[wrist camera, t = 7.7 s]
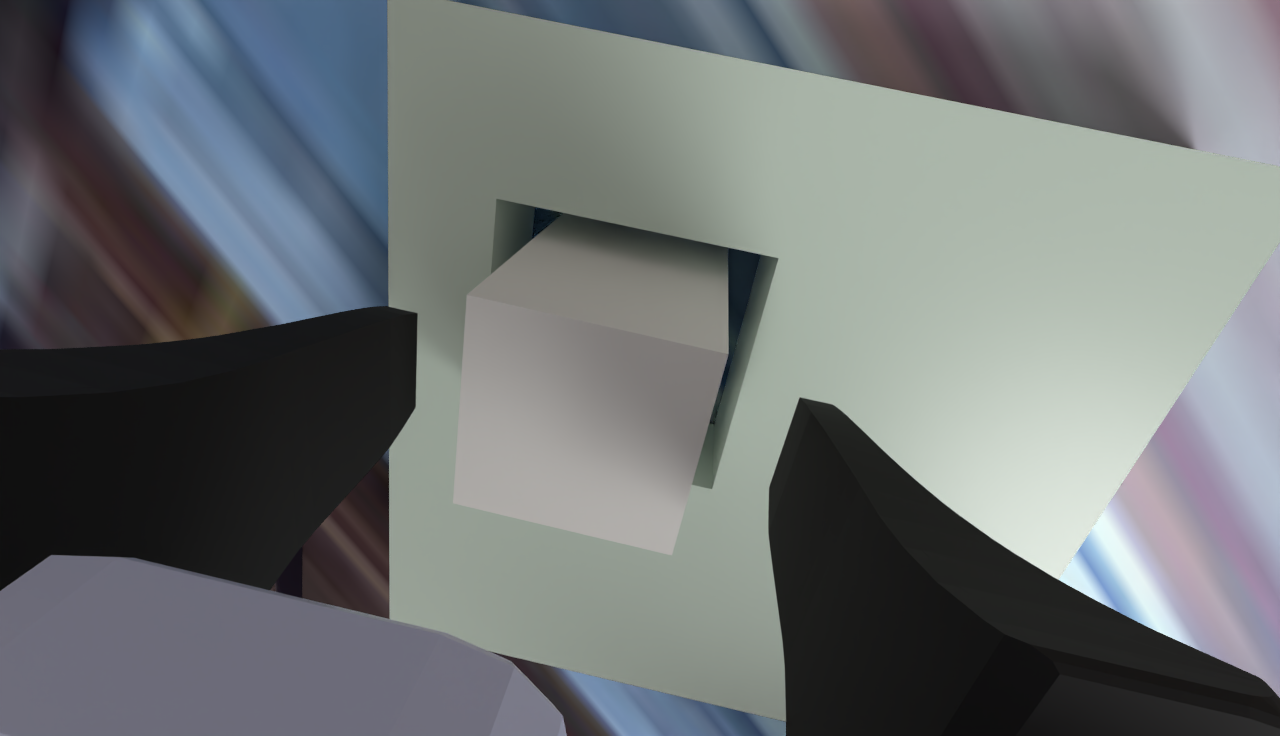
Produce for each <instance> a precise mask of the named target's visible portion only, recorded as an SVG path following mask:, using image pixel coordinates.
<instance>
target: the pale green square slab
mask: <svg viewBox="0 0 1280 736" xmlns="http://www.w3.org/2000/svg"><path fill="white" fill-rule="evenodd" d="M387 32H388V297H389V307H392V308H397V309H401V310H406V311H410V312H415V313H418V321H417V369H416V408H415V409H414V411H413V413H412V414H411V416H410V417H409V419H408V421H407V422H406V424H405V426H404V427H403V429H402V430H401V432H400V433H399V435H398V436H397V438H396V439H395V441H394V442H393V444H392V445H391V446H390V448H389V563H390V619H391V620H395V621H399V622H403V623H407V624H411V625H416V626H420V627H424V628H428V629H432V630H436V631H441V632H445V633H448V634H450V635H452V636H455V637H457V638H459V639H462V640H464V641H466V642H468V643H471V644H473V645H475V646H478V647H480V648H482V649H484V650H487V651H491V652H495V653H499V654H503V655H507V656H512V657H516V658H520V659H524V660H528V661H533V662H537V663H541V664H545V665H549V666H554V667H558V668H562V669H566V670H570V671H575V672H579V673H583V674H587V675H591V676H596V677H600V678H604V679H608V680H612V681H617V682H621V683H625V684H629V685H633V686H638V687H642V688H646V689H650V690H654V691H659V692H663V693H667V694H671V695H675V696H680V697H684V698H688V699H692V700H696V701H701V702H705V703H709V704H713V705H717V706H722V707H726V708H730V709H734V710H738V711H743V712H747V713H751V714H755V715H759V716H764V717H768V718H772V719H776V720H780V721H785V722H786V699H785V664H784V653H783V641H782V634H781V626H780V619H779V612H778V604H777V597H776V589H775V582H774V575H773V567H772V559H771V551H770V543H769V535H768V509H769V486H770V483H771V480H772V477H773V474H774V472H775V469H776V466H777V463H778V460H779V457H780V454H781V451H782V448H783V445H784V442H785V439H786V436H787V433H788V430H789V427H790V424H791V421H792V418H793V415H794V412H795V409H796V406H797V403H798V400H799V398H800V397H801V398H805V399H810V400H815V401H819V402H824V403H828V404H833V405H834V406H836V407H837V408H839V409H840V410H841V411H842V412H843V413H844V414H846V415H847V416H848V417H849V418H850V419H851V420H852V421H853V422H854V423H855V424H856V425H857V426H858V427H859V428H861V429H862V430H863V431H864V432H865V433H866V434H867V435H868V436H869V437H870V438H871V439H872V440H873V441H874V442H875V443H876V444H877V445H878V446H879V447H880V448H881V449H882V450H883V451H884V452H885V453H887V454H888V455H889V456H890V457H891V458H892V459H893V460H894V461H895V462H896V463H897V464H898V465H899V466H901V467H902V468H903V469H904V470H905V471H906V472H907V473H908V474H909V475H911V476H912V477H913V478H914V479H915V480H916V481H918V482H919V483H920V484H921V485H922V486H923V487H925V488H926V489H927V490H928V491H929V492H931V493H932V494H933V495H934V496H935V497H937V498H938V499H939V500H940V501H941V502H943V503H944V504H945V505H947V506H948V507H949V508H950V509H952V510H953V511H954V512H956V513H957V514H958V515H960V516H961V517H962V518H964V519H965V520H967V521H968V522H969V523H971V524H972V525H974V526H975V527H976V528H978V529H979V530H981V531H982V532H983V533H985V534H986V535H988V536H989V537H990V538H992V539H993V540H995V541H996V542H998V543H999V544H1001V545H1002V546H1004V547H1005V548H1007V549H1009V550H1010V551H1012V552H1013V553H1015V554H1016V555H1018V556H1020V557H1021V558H1023V559H1025V560H1026V561H1028V562H1029V563H1031V564H1033V565H1034V566H1036V567H1038V568H1039V569H1041V570H1043V571H1044V572H1046V573H1048V574H1049V575H1051V576H1053V577H1054V578H1056V579H1058V580H1059V578H1060V577H1061V575H1062V574H1063V572H1064V571H1065V569H1066V568H1067V566H1068V565H1069V563H1070V562H1071V560H1072V559H1073V557H1074V555H1075V554H1076V552H1077V551H1078V549H1079V548H1080V546H1081V545H1082V543H1083V542H1084V540H1085V539H1086V537H1087V536H1088V534H1089V533H1090V531H1091V530H1092V528H1093V526H1094V525H1095V523H1096V522H1097V520H1098V519H1099V517H1100V516H1101V514H1102V513H1103V511H1104V510H1105V508H1106V507H1107V505H1108V504H1109V502H1110V500H1111V499H1112V497H1113V496H1114V494H1115V493H1116V491H1117V490H1118V488H1119V487H1120V485H1121V484H1122V482H1123V481H1124V479H1125V478H1126V476H1127V475H1128V473H1129V471H1130V470H1131V468H1132V467H1133V465H1134V464H1135V462H1136V461H1137V459H1138V458H1139V456H1140V455H1141V453H1142V452H1143V450H1144V449H1145V447H1146V446H1147V444H1148V442H1149V441H1150V439H1151V438H1152V436H1153V435H1154V433H1155V432H1156V430H1157V429H1158V427H1159V426H1160V424H1161V423H1162V421H1163V420H1164V418H1165V417H1166V415H1167V413H1168V412H1169V410H1170V409H1171V407H1172V406H1173V404H1174V403H1175V401H1176V400H1177V398H1178V397H1179V395H1180V394H1181V392H1182V391H1183V389H1184V388H1185V386H1186V384H1187V383H1188V381H1189V380H1190V378H1191V377H1192V375H1193V374H1194V372H1195V371H1196V369H1197V368H1198V366H1199V365H1200V363H1201V362H1202V360H1203V358H1204V357H1205V355H1206V354H1207V352H1208V351H1209V349H1210V348H1211V346H1212V345H1213V343H1214V342H1215V340H1216V339H1217V337H1218V336H1219V334H1220V333H1221V331H1222V329H1223V328H1224V326H1225V325H1226V323H1227V322H1228V320H1229V319H1230V317H1231V316H1232V314H1233V313H1234V311H1235V310H1236V308H1237V307H1238V305H1239V304H1240V302H1241V300H1242V299H1243V297H1244V296H1245V294H1246V293H1247V291H1248V290H1249V288H1250V287H1251V285H1252V284H1253V282H1254V281H1255V279H1256V278H1257V276H1258V275H1259V273H1260V271H1261V270H1262V268H1263V267H1264V265H1265V264H1266V262H1267V261H1268V259H1269V258H1270V256H1271V255H1272V253H1273V252H1274V250H1275V249H1276V247H1277V246H1278V244H1279V242H1280V167H1279V166H1274V165H1269V164H1264V163H1259V162H1254V161H1249V160H1244V159H1239V158H1234V157H1229V156H1224V155H1219V154H1214V153H1209V152H1204V151H1199V150H1194V149H1189V148H1184V147H1179V146H1174V145H1169V144H1164V143H1159V142H1154V141H1149V140H1144V139H1139V138H1134V137H1129V136H1124V135H1119V134H1114V133H1109V132H1104V131H1099V130H1094V129H1089V128H1084V127H1079V126H1074V125H1069V124H1064V123H1059V122H1054V121H1049V120H1044V119H1039V118H1034V117H1029V116H1024V115H1019V114H1014V113H1009V112H1004V111H999V110H994V109H989V108H984V107H979V106H974V105H969V104H964V103H959V102H954V101H949V100H944V99H939V98H934V97H929V96H924V95H919V94H914V93H909V92H904V91H899V90H894V89H889V88H884V87H879V86H874V85H869V84H864V83H859V82H854V81H849V80H844V79H839V78H834V77H829V76H824V75H819V74H814V73H809V72H804V71H799V70H794V69H789V68H784V67H779V66H774V65H769V64H764V63H759V62H754V61H749V60H744V59H739V58H734V57H729V56H724V55H719V54H714V53H709V52H704V51H699V50H694V49H689V48H684V47H679V46H674V45H669V44H664V43H659V42H654V41H649V40H644V39H639V38H634V37H629V36H624V35H619V34H614V33H609V32H604V31H599V30H594V29H589V28H584V27H579V26H574V25H569V24H564V23H559V22H554V21H549V20H544V19H539V18H534V17H529V16H524V15H519V14H514V13H509V12H504V11H499V10H494V9H489V8H484V7H479V6H474V5H469V4H464V3H458V2H453V1H448V0H387ZM535 207H538V208H543V209H548V210H553V211H557V212H562V213H567V214H571V215H576V216H581V217H586V218H590V219H595V220H600V221H605V222H609V223H614V224H619V225H624V226H628V227H633V228H638V229H643V230H647V231H652V232H657V233H662V234H666V235H671V236H676V237H680V238H685V239H690V240H695V241H699V242H704V243H709V244H714V245H718V246H723V247H728V248H733V249H737V250H742V251H747V252H752V253H756V254H761V256H760V259H759V263H758V267H757V270H756V274H755V278H754V281H753V285H752V289H751V292H750V296H749V299H748V303H747V307H746V310H745V314H744V318H743V321H742V325H741V329H740V332H739V336H738V340H737V343H736V347H735V351H734V354H733V358H732V361H731V365H730V369H729V372H728V376H727V380H726V383H725V387H724V391H723V394H722V398H721V402H720V405H719V409H718V413H717V416H716V420H715V424H713V423H709V425H708V429H707V433H706V436H705V440H704V443H703V447H702V450H701V454H700V457H699V461H698V465H697V468H696V472H695V475H694V479H693V482H692V486H691V489H690V493H689V497H688V500H687V504H686V507H685V511H684V514H683V518H682V521H681V525H680V528H679V532H678V536H677V539H676V543H675V546H674V550H673V553H672V555H668V554H663V553H659V552H655V551H651V550H647V549H642V548H638V547H634V546H630V545H626V544H621V543H617V542H613V541H609V540H605V539H600V538H596V537H592V536H588V535H584V534H580V533H575V532H571V531H567V530H563V529H559V528H554V527H550V526H546V525H542V524H538V523H533V522H529V521H525V520H521V519H517V518H512V517H508V516H504V515H500V514H496V513H491V512H487V511H483V510H479V509H475V508H470V507H466V506H462V505H458V504H454V503H453V494H454V479H455V464H456V449H457V434H458V419H459V404H460V389H461V374H462V359H463V343H464V328H465V313H466V298H467V294H468V293H469V292H471V291H472V290H473V289H474V288H475V287H476V286H478V285H479V284H480V283H481V282H482V281H484V280H485V279H486V278H487V277H488V276H490V275H491V274H492V273H493V272H494V271H495V270H497V269H498V268H499V267H500V266H501V265H503V264H504V263H505V262H506V261H507V260H508V259H510V258H511V257H512V256H513V255H514V254H516V253H517V252H518V251H519V250H520V249H521V248H523V247H524V246H525V245H526V244H527V243H529V242H530V241H531V240H532V234H533V224H534V215H535Z"/></svg>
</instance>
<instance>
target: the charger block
mask: <svg viewBox="0 0 1280 736" xmlns="http://www.w3.org/2000/svg"><path fill="white" fill-rule="evenodd" d="M728 354H729V337H728V247H723V246H718V245H714V244H709V243H704V242H699V241H695V240H690V239H685V238H680V237H676V236H671V235H666V234H662V233H657V232H652V231H647V230H643V229H638V228H633V227H628V226H624V225H619V224H614V223H609V222H605V221H600V220H595V219H590V218H586V217H581V216H576V215H571V214H567V213H563V214H562V215H561V216H559V217H558V218H557V219H556V220H555V221H553V222H552V223H551V224H550V225H549V226H548V227H546V228H545V229H544V230H543V231H542V232H540V233H539V234H538V235H537V236H536V237H535V238H533V239H532V240H531V241H530V242H529V243H527V244H526V245H525V246H524V247H523V248H521V249H520V250H519V251H518V252H517V253H516V254H514V255H513V256H512V257H511V258H510V259H508V260H507V261H506V262H505V263H504V264H503V265H501V266H500V267H499V268H498V269H497V270H495V271H494V272H493V273H492V274H491V275H490V276H488V277H487V278H486V279H485V280H484V281H482V282H481V283H480V284H479V285H478V286H476V287H475V288H474V289H473V290H472V291H471V292H469V293H468V294H467V298H466V313H465V328H464V343H463V359H462V374H461V389H460V404H459V419H458V434H457V449H456V464H455V479H454V494H453V503H454V504H458V505H462V506H466V507H470V508H475V509H479V510H483V511H487V512H491V513H496V514H500V515H504V516H508V517H512V518H517V519H521V520H525V521H529V522H533V523H538V524H542V525H546V526H550V527H554V528H559V529H563V530H567V531H571V532H575V533H580V534H584V535H588V536H592V537H596V538H600V539H605V540H609V541H613V542H617V543H621V544H626V545H630V546H634V547H638V548H642V549H647V550H651V551H655V552H659V553H663V554H668V555H672V553H673V550H674V546H675V543H676V539H677V536H678V532H679V528H680V525H681V521H682V518H683V514H684V511H685V507H686V504H687V500H688V497H689V493H690V489H691V486H692V482H693V479H694V475H695V472H696V468H697V465H698V461H699V457H700V454H701V450H702V447H703V443H704V440H705V436H706V433H707V429H708V425H709V422H710V418H711V415H712V411H713V408H714V404H715V401H716V397H717V394H718V390H719V386H720V383H721V379H722V376H723V372H724V369H725V365H726V362H727V358H728Z"/></svg>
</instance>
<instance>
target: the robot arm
mask: <svg viewBox="0 0 1280 736" xmlns="http://www.w3.org/2000/svg"><path fill="white" fill-rule="evenodd" d="M417 321H418V313H415V312H410V311H406V310H401V309H397V308H392V307H388V306H379V307H368V308H361V309H355V310H350V311H345V312H339V313H334V314H329V315H325V316H320V317H315V318H310V319H305V320H300V321H296V322H291V323H286V324H281V325H275V326H270V327H264V328H259V329H253V330H247V331H242V332H236V333H230V334H225V335H219V336H212V337H205V338H197V339H190V340H181V341H172V342H162V343H152V344H141V345H128V346H107V347H87V348H67V349H11V350H0V736H567V735H566V730H565V725H564V720H563V716H562V715H561V713H560V712H559V711H558V710H557V709H556V707H555V706H554V705H553V704H552V703H551V702H550V701H549V700H548V699H547V698H546V697H545V696H544V695H543V693H542V692H541V691H540V690H539V689H538V688H537V687H536V686H535V685H534V684H533V683H532V682H531V681H530V680H529V679H528V678H527V677H526V676H525V675H524V674H523V673H522V672H521V671H520V670H519V669H518V668H517V667H516V666H515V665H514V664H513V663H512V662H511V661H510V660H507V659H505V658H503V657H500V656H498V655H496V654H494V653H491V652H489V651H487V650H484V649H482V648H480V647H478V646H475V645H473V644H471V643H468V642H466V641H464V640H462V639H459V638H457V637H455V636H452V635H450V634H448V633H445V632H441V631H436V630H432V629H428V628H424V627H420V626H416V625H411V624H407V623H403V622H399V621H395V620H391V619H387V618H382V617H378V616H374V615H370V614H366V613H362V612H357V611H353V610H349V609H345V608H341V607H337V606H332V605H328V604H324V603H320V602H316V601H312V600H307V599H303V598H299V597H295V596H291V595H287V594H283V593H278V592H274V591H270V589H271V588H272V586H273V585H274V584H275V582H276V581H277V579H278V578H279V577H280V575H281V574H282V573H283V571H284V570H285V568H286V567H287V566H288V564H289V563H290V561H291V560H292V559H293V557H294V556H295V555H296V553H297V552H298V551H299V549H300V548H301V547H302V546H303V545H304V543H305V542H306V541H307V540H308V538H309V537H310V536H311V535H312V534H313V532H314V531H315V530H316V529H317V528H318V527H319V526H320V525H321V523H322V522H323V521H324V520H325V519H326V518H327V517H328V516H329V515H330V514H331V512H332V511H333V510H334V509H335V508H336V507H337V506H338V505H339V504H340V503H341V501H342V500H343V499H344V498H345V497H346V496H347V495H348V494H349V493H350V492H351V490H352V489H353V488H354V487H355V486H356V485H357V484H358V483H359V482H360V481H361V479H362V478H363V477H364V476H365V475H366V474H367V473H368V472H369V470H370V469H371V468H372V467H373V466H374V465H375V464H376V463H377V461H378V460H379V459H380V458H381V457H382V456H383V455H384V453H385V452H386V451H387V450H388V449H389V448H390V446H391V445H392V444H393V442H394V441H395V439H396V438H397V436H398V435H399V433H400V432H401V430H402V429H403V427H404V426H405V424H406V422H407V421H408V419H409V417H410V416H411V414H412V413H413V411H414V409H415V408H416V369H417ZM768 535H769V543H770V551H771V559H772V567H773V575H774V582H775V589H776V597H777V604H778V612H779V619H780V626H781V634H782V641H783V653H784V664H785V699H786V736H1280V698H1279V697H1278V696H1277V694H1276V693H1275V692H1274V691H1273V690H1272V689H1271V688H1270V687H1269V686H1268V684H1267V683H1265V682H1264V681H1263V680H1262V679H1260V678H1259V677H1257V676H1255V675H1252V674H1250V673H1248V672H1246V671H1243V670H1241V669H1239V668H1237V667H1235V666H1232V665H1230V664H1228V663H1226V662H1223V661H1221V660H1219V659H1217V658H1214V657H1212V656H1210V655H1208V654H1206V653H1203V652H1201V651H1199V650H1197V649H1194V648H1192V647H1190V646H1188V645H1186V644H1183V643H1181V642H1179V641H1177V640H1174V639H1172V638H1170V637H1168V636H1166V635H1163V634H1161V633H1159V632H1157V631H1155V630H1153V629H1150V628H1148V627H1146V626H1144V625H1142V624H1140V623H1138V622H1136V621H1134V620H1133V619H1131V618H1129V617H1127V616H1125V615H1123V614H1121V613H1119V612H1117V611H1115V610H1113V609H1111V608H1109V607H1107V606H1105V605H1103V604H1101V603H1099V602H1098V601H1096V600H1094V599H1092V598H1090V597H1088V596H1086V595H1084V594H1083V593H1081V592H1079V591H1077V590H1075V589H1074V588H1072V587H1070V586H1068V585H1066V584H1065V583H1063V582H1061V581H1059V580H1058V579H1056V578H1054V577H1053V576H1051V575H1049V574H1048V573H1046V572H1044V571H1043V570H1041V569H1039V568H1038V567H1036V566H1034V565H1033V564H1031V563H1029V562H1028V561H1026V560H1025V559H1023V558H1021V557H1020V556H1018V555H1016V554H1015V553H1013V552H1012V551H1010V550H1009V549H1007V548H1005V547H1004V546H1002V545H1001V544H999V543H998V542H996V541H995V540H993V539H992V538H990V537H989V536H988V535H986V534H985V533H983V532H982V531H981V530H979V529H978V528H976V527H975V526H974V525H972V524H971V523H969V522H968V521H967V520H965V519H964V518H962V517H961V516H960V515H958V514H957V513H956V512H954V511H953V510H952V509H950V508H949V507H948V506H947V505H945V504H944V503H943V502H941V501H940V500H939V499H938V498H937V497H935V496H934V495H933V494H932V493H931V492H929V491H928V490H927V489H926V488H925V487H923V486H922V485H921V484H920V483H919V482H918V481H916V480H915V479H914V478H913V477H912V476H911V475H909V474H908V473H907V472H906V471H905V470H904V469H903V468H902V467H901V466H899V465H898V464H897V463H896V462H895V461H894V460H893V459H892V458H891V457H890V456H889V455H888V454H887V453H885V452H884V451H883V450H882V449H881V448H880V447H879V446H878V445H877V444H876V443H875V442H874V441H873V440H872V439H871V438H870V437H869V436H868V435H867V434H866V433H865V432H864V431H863V430H862V429H861V428H859V427H858V426H857V425H856V424H855V423H854V422H853V421H852V420H851V419H850V418H849V417H848V416H847V415H846V414H844V413H843V412H842V411H841V410H840V409H839V408H837V407H836V406H834V405H833V404H828V403H824V402H819V401H815V400H810V399H805V398H801V397H800V398H799V400H798V403H797V406H796V409H795V412H794V415H793V418H792V421H791V424H790V427H789V430H788V433H787V436H786V439H785V442H784V445H783V448H782V451H781V454H780V457H779V460H778V463H777V466H776V469H775V472H774V474H773V477H772V480H771V483H770V486H769V509H768Z"/></svg>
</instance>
